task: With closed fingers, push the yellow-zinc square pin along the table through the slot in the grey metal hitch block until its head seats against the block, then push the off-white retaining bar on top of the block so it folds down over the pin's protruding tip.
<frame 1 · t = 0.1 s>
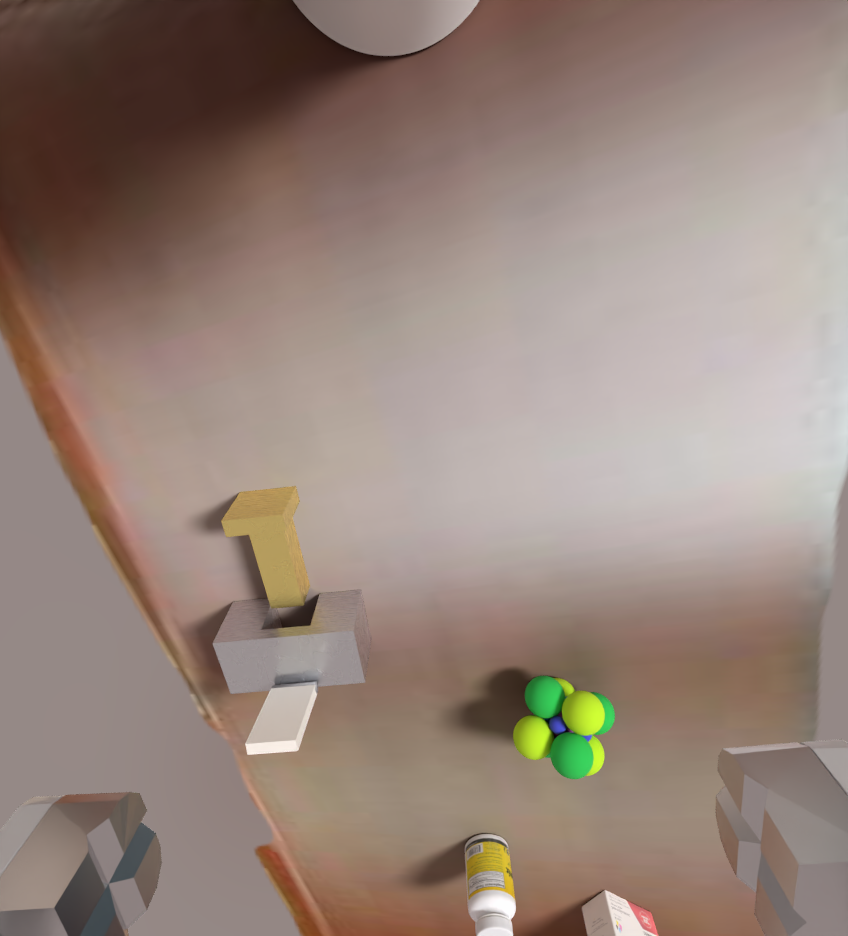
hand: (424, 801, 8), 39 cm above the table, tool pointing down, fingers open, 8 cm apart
supplement bottle: (486, 844, 71), on the table
retaining bar: (284, 714, 48), point 10 cm above the table, hinge at -10.0°
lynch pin: (267, 488, 50), on the table
hitch block: (303, 620, 56), on the table
molecule model: (553, 682, 59), on the table
ink cartridge box: (615, 906, 76), on the table
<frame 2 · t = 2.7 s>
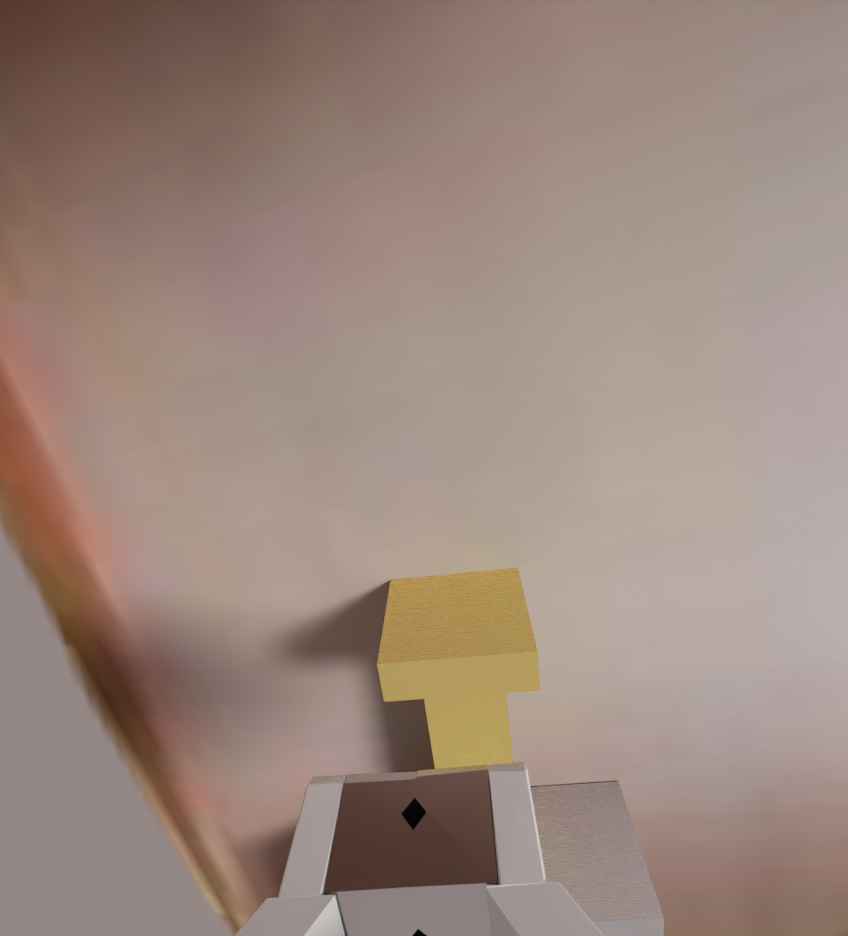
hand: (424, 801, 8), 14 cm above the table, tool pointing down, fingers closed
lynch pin: (453, 573, 22), on the table
hitch block: (486, 836, 27), on the table
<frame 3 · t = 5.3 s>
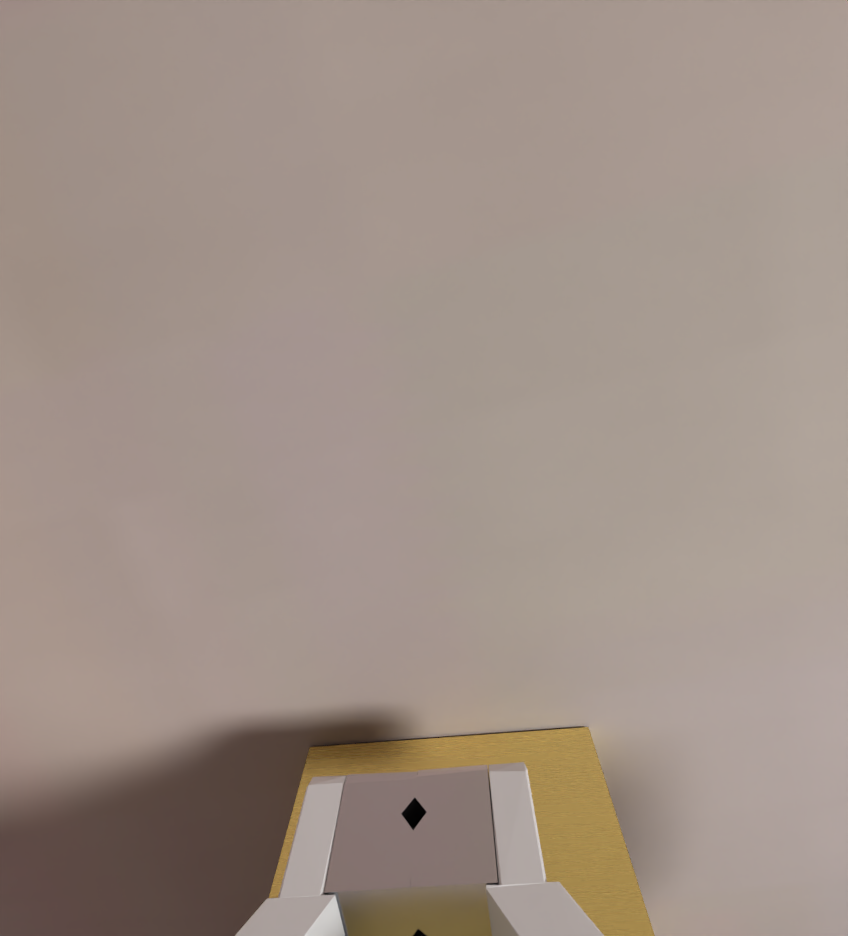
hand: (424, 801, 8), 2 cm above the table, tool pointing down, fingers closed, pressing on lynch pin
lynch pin: (446, 737, 10), on the table, touching gripper
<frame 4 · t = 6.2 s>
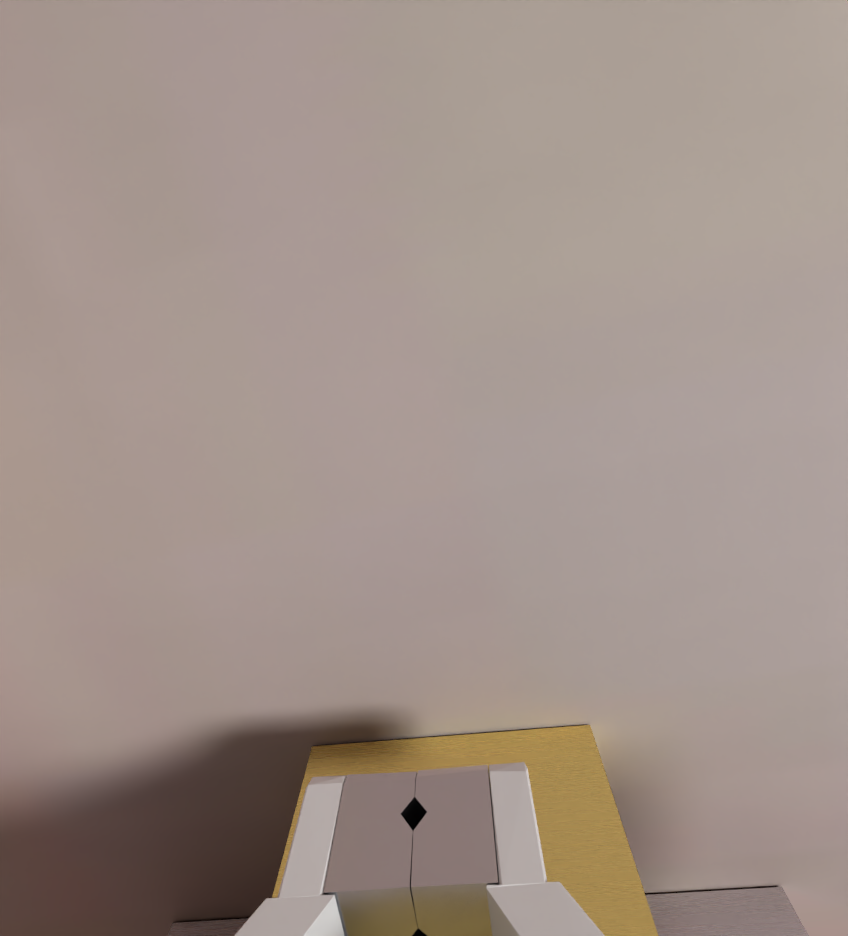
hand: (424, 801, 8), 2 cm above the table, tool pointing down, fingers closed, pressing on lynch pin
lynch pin: (448, 735, 10), on the table, touching gripper
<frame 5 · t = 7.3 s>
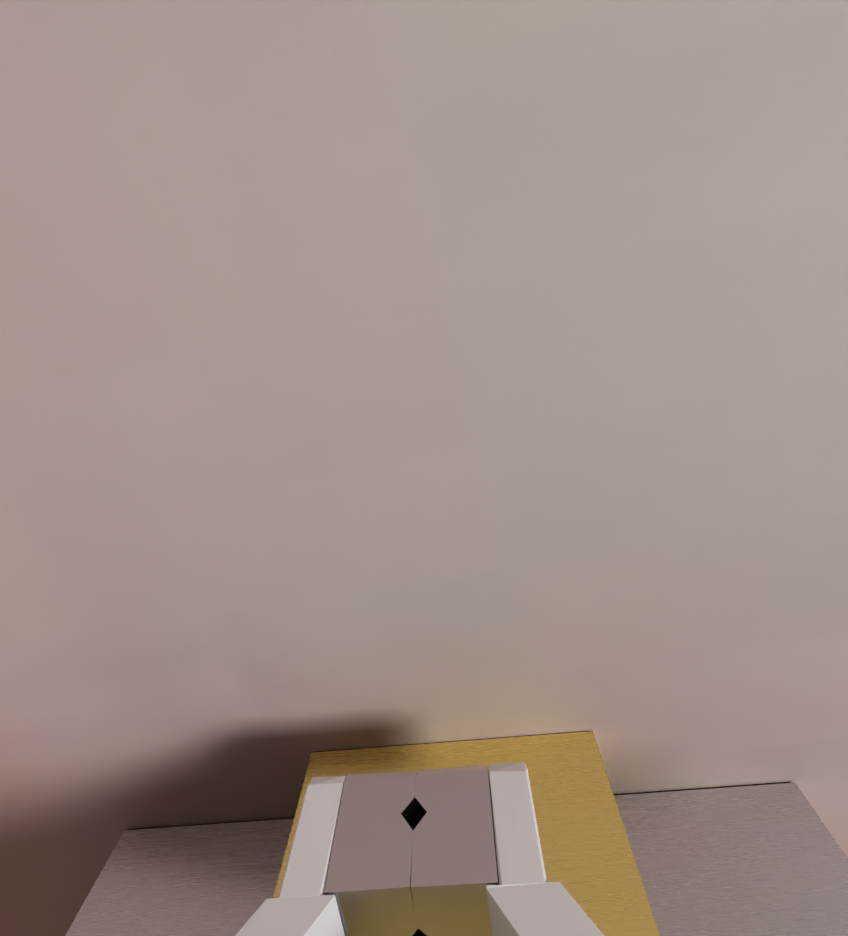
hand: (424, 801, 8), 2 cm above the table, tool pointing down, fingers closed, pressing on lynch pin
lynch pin: (449, 741, 10), on the table, touching gripper, hitch block
hitch block: (463, 917, 12), on the table
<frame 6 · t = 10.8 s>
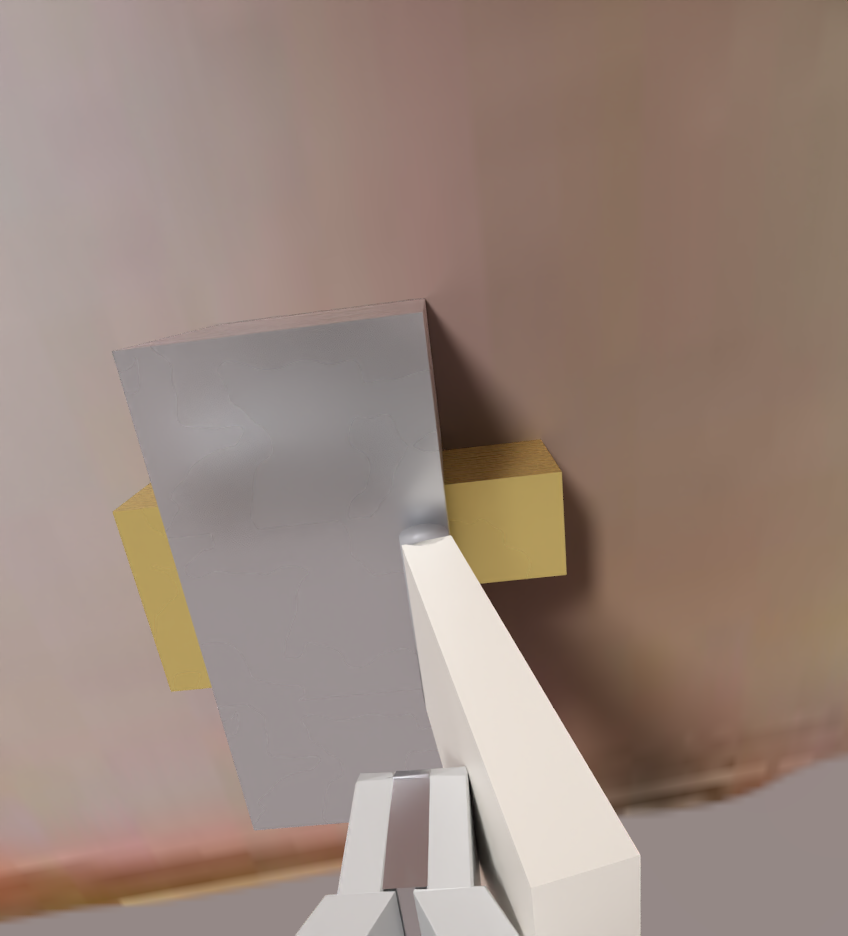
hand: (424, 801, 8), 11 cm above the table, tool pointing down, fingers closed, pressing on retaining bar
retaining bar: (479, 732, 9), point 10 cm above the table, hinge at 12.0°, touching gripper
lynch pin: (216, 520, 18), on the table
hitch block: (355, 513, 18), on the table
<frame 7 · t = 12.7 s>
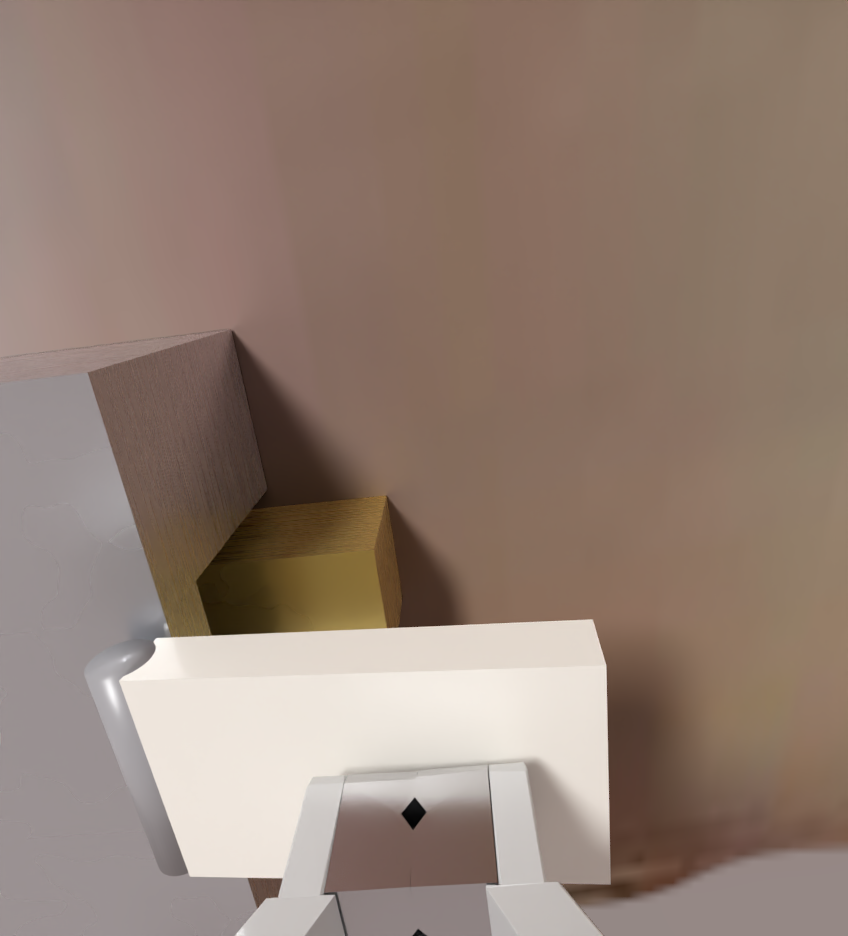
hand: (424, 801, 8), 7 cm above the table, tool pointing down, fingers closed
retaining bar: (351, 757, 9), point 7 cm above the table, hinge at 85.8°
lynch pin: (19, 583, 16), on the table
hitch block: (177, 577, 15), on the table
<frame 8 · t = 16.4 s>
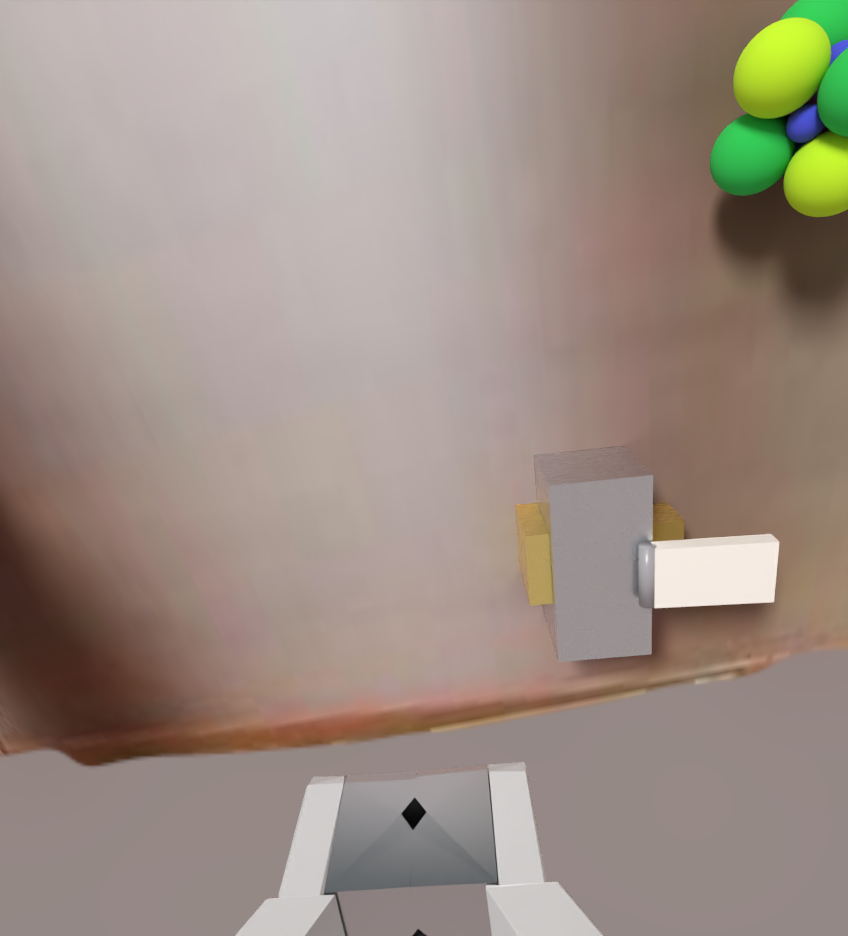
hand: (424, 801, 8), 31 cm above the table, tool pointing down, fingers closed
retaining bar: (704, 572, 34), point 7 cm above the table, hinge at 86.2°
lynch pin: (517, 536, 41), on the table
hitch block: (581, 533, 41), on the table
molecule model: (762, 131, 32), on the table
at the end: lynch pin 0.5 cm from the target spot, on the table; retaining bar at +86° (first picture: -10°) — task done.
